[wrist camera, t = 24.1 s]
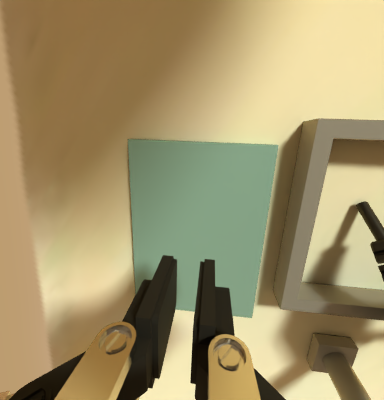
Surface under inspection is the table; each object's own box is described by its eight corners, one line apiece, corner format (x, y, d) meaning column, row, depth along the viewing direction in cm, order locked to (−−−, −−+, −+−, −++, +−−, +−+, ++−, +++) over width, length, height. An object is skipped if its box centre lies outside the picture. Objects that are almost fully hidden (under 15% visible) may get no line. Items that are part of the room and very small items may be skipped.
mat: (131, 139, 15) (127, 139, 14) (275, 144, 14) (278, 145, 13) (138, 299, 19) (136, 304, 18) (250, 312, 18) (251, 317, 17)
